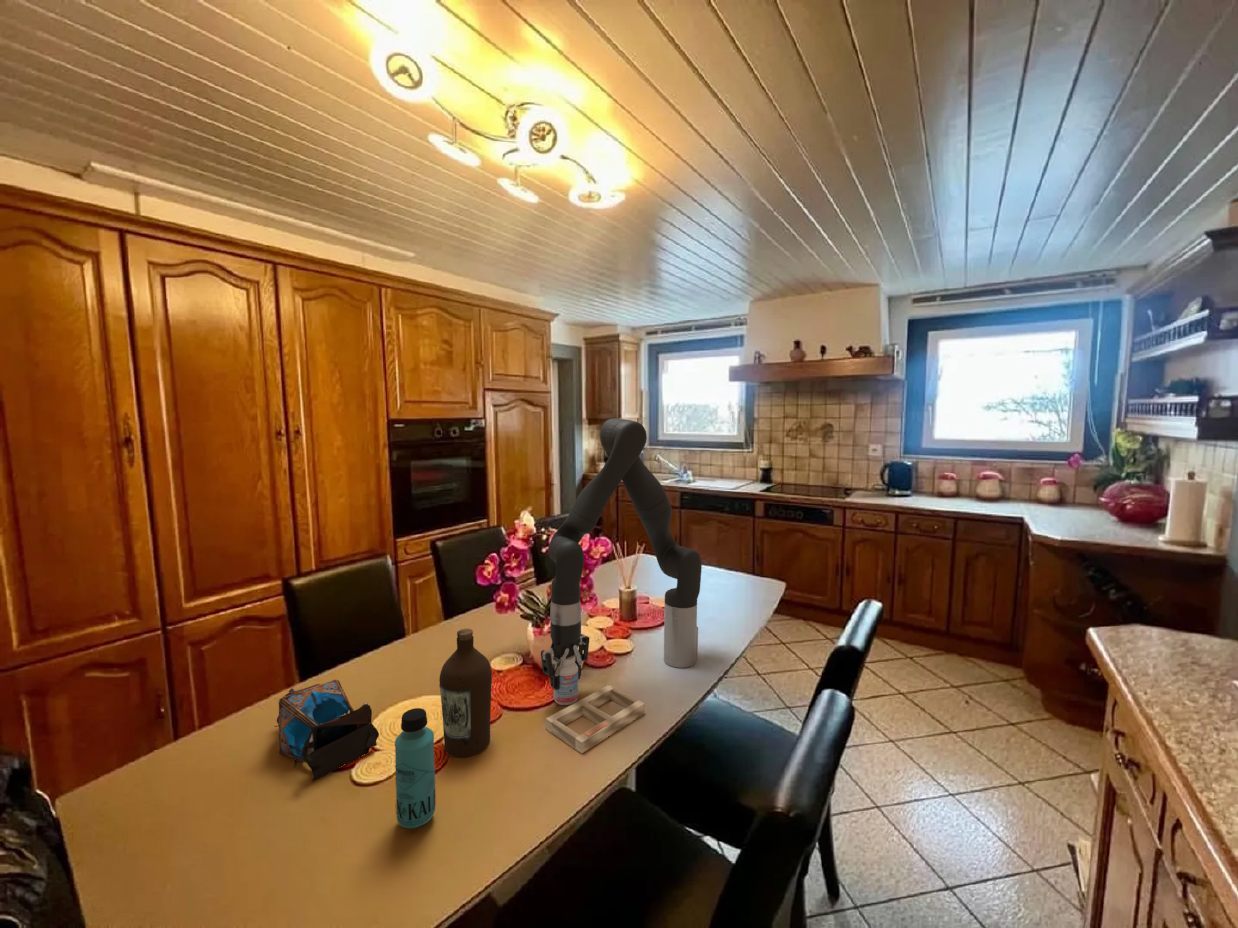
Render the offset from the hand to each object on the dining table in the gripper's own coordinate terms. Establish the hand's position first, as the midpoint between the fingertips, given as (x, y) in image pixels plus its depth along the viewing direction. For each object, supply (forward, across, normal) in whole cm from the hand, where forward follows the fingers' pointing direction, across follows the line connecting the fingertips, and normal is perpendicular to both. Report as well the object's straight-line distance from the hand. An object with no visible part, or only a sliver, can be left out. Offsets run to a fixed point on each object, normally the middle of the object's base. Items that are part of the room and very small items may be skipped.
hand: (566, 683), depth 127 cm
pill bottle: (+4, 0, 0) cm, 4 cm away
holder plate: (+4, +1, +12) cm, 13 cm away
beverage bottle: (+4, +43, +11) cm, 45 cm away
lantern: (+4, +48, -24) cm, 54 cm away
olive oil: (+4, +26, -2) cm, 26 cm away
